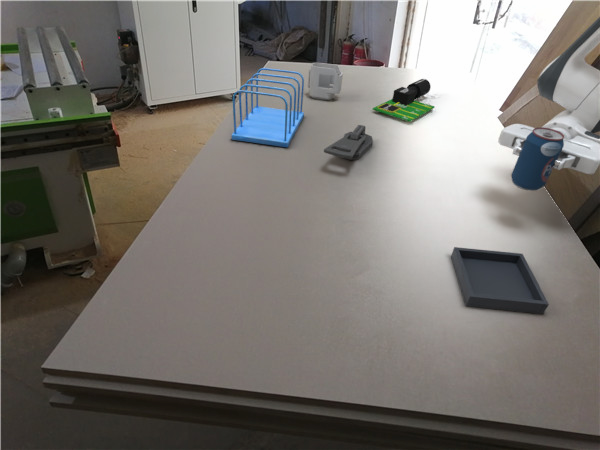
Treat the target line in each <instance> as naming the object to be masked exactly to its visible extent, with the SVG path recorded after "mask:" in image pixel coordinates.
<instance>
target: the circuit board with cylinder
mask: <svg viewBox="0 0 600 450" xmlns="http://www.w3.org/2000/svg"><path fill="white" fill-rule="evenodd" d="M431 86H432V85H431V82H430V81H429V80H428V79H426V78H421V79H418V80H416V81H413V82H412V83H410V84H408V85H407V87H404V86H401V87H398V88H396V89H394V90H393V94H392V98H390V99H389V100H386V101H385V102H382V103H380V104H378V105H377V106H374V107H372V110H373V111H375V112H379V113H382V114H384V115H388V116H391V117H394V118H397V119H400V120H403V121H406V122H409V123H410V122H413V121H414V120H416V119H418V118H419V117H421V116H423V115H424V114H426V113H428V112H429V111H432V110H433V109H435V106H434V105H432V104H431V105H430V104H428V103H424V102H421V101H418V100H417V99H419V98H421V97H423V96H425V95H427V94H428V93H429V92H430V91H431V89H432V88H431Z"/></svg>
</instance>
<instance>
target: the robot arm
mask: <svg viewBox="0 0 600 450" xmlns="http://www.w3.org/2000/svg"><path fill="white" fill-rule="evenodd" d="M599 44H600V16H598V17H597V19H595V20H594V21H593V23H591V25H590V26H588V28H586V29H585V30H584V31H583V32H582V34H580V36H578V37H577V38H576V39H575V40H574V41H573V42H572V44H570V45H569V46H568V47H567V48H566V49H565V50H564V51H563V52H562V54H560V55H559V56H557V57H556V58H555V59H553V60H552V61H551V62H549V63H548V64H547V65H546V67H545V68H543V70H542V71H541V72H540V74H539V76H538V78H537V80H536V84H537V89H538V93H539V94H538V95H539V96H540V97H542V98H544V99H546V100H549V101H551V102H553V103H555V104H557V105H559V106H561V107H562V108H563V109H564V110H563V111H561V112H559V113H558V114H556V115H555V116H553V118H551V119H550V120H548V121H547V122H546V123H545V124H543V125H542V127H543V128H550V129H554V130H556V131H559V132H561V133H562V134H563V135H564V139H563V142H564V146H563V148H562V151H561V153H560V155H559V157H558V159H557V160H556V161H555V163H554V165H553V169H555V170H558V171H561V170H562V169H571V170H574V171H577V172H580V173H583V174H586V175H594V174H595V173H596V171H597V169H598V168H599V166H600V135H598V134H597V133H599V132H600V69H598V68H596V67H594V66H593V65H591V64H589V63H587V62H586V59H585V58H586V56H588V55H589V54H590V53H591V52H592V51H593V50H594V49H595V48H596V47H597V46H598V45H599ZM535 128H536V127H533V126H530V125H526V124H522V123H513V124H510V125H508V126H505V127H504V128H502V130H501V131H500V133H499V137H498V140H497V141H498V144H499V145H500V146H503V147H505V148H509V149H512V150H513V151H512V155H514V156H518V157H519V155H520V152H521V150H522V147H523V145H524V143H525V140H526V138H527V136H528V135H529V134H530V133H531V132H533V129H535Z"/></svg>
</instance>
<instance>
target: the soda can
mask: <svg viewBox="0 0 600 450" xmlns="http://www.w3.org/2000/svg"><path fill="white" fill-rule="evenodd" d="M534 128H535V129H533V132H531V133H530V134H529V135H528V136H527V138H526V140H525V143H524V145H523V147H522V150H521V152H520V155H519V156H518V157H517V160H516V162H515V165H514V167H513V169H512V171H511V181H512V184H513V185H514V186H516V187H517V188H519V189H521V190H525V191H529V192H534V191H535V192H537V191H538V190H540V189H542V188H544V187H545V186H546V185H547V183H548V181H549V178H550V176H551V174H552V172H553V170H554V168H553V165H554V163H555V161H556V160H557V159H558V157H559V155H560V153H561V151H562V148H563V146H564V142H563V139H564V135H563V134H562V133H561V132H559V131H556V130H554V129H550V128H543V126H541V127H534Z"/></svg>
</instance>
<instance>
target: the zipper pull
mask: <svg viewBox="0 0 600 450" xmlns="http://www.w3.org/2000/svg"><path fill="white" fill-rule="evenodd" d="M373 143H374V139H373V136H372V135H370V134H367V133H366V125H363V124H357V126H356V127H355V128H354V130H353V131H349V132H346V133H344V135H343V137H341V138H340V139H338V140H337V141H334V143H332V144H329V145H328V146H327V147H325V148H324V149H323V153H325V154H328V155H331V156H335V157H339V158H342V159H345V160H349V161H356V160H357V161H359V160H361V158H362V157H364V155H365V154H366V153H367V152H369V151H370V150H371V149H372V147H373Z"/></svg>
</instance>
